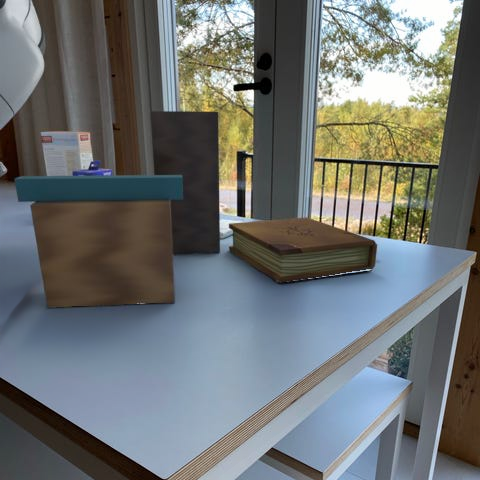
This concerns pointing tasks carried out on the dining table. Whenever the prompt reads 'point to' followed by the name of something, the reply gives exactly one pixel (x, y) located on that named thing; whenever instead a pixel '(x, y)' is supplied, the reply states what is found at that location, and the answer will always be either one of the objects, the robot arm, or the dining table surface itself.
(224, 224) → the hard drive
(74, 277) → the brown wooden block
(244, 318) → the dining table surface
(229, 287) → the dining table surface
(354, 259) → the diary
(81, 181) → the teal bar
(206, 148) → the stand
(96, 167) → the ink cartridge box
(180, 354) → the dining table surface
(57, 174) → the cracker box
